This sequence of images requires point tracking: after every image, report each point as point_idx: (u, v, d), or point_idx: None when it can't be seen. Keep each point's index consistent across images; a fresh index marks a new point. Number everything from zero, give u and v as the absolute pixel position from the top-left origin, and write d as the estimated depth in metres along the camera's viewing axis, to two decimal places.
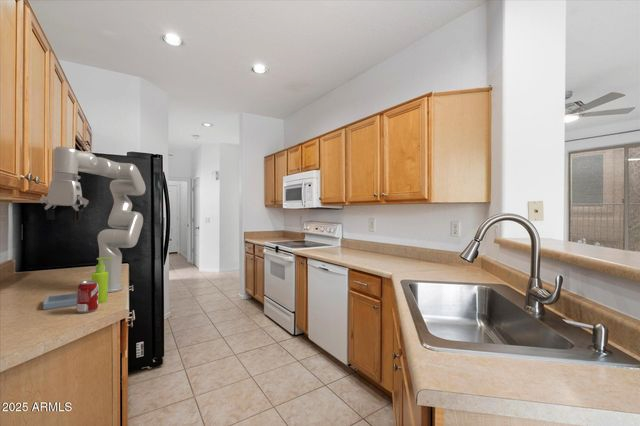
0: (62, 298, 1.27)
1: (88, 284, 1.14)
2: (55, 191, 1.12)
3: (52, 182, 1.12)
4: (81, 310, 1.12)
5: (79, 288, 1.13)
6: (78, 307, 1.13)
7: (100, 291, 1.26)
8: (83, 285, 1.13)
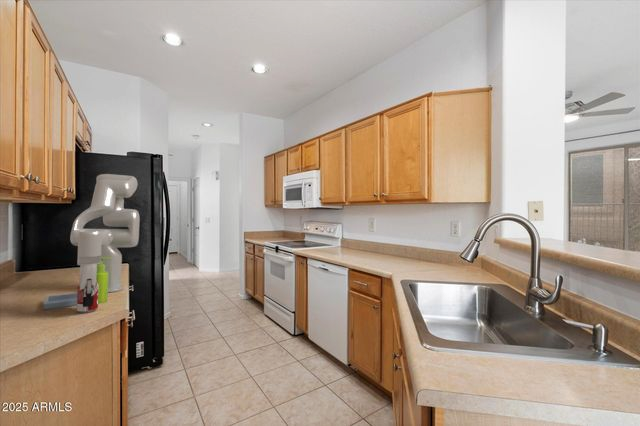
0: (62, 298, 1.27)
1: None
2: (96, 274, 1.16)
3: (96, 266, 1.15)
4: (81, 310, 1.12)
5: None
6: (78, 307, 1.13)
7: (100, 291, 1.26)
8: None
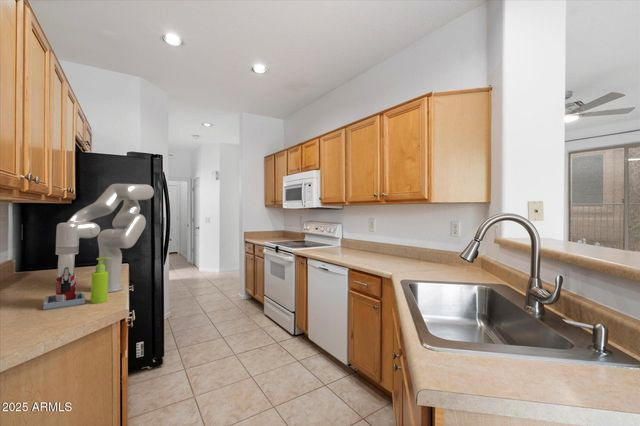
0: None
1: None
2: None
3: (73, 256, 1.23)
4: (59, 300, 1.22)
5: (57, 280, 1.21)
6: (56, 297, 1.22)
7: (100, 291, 1.26)
8: (61, 277, 1.22)
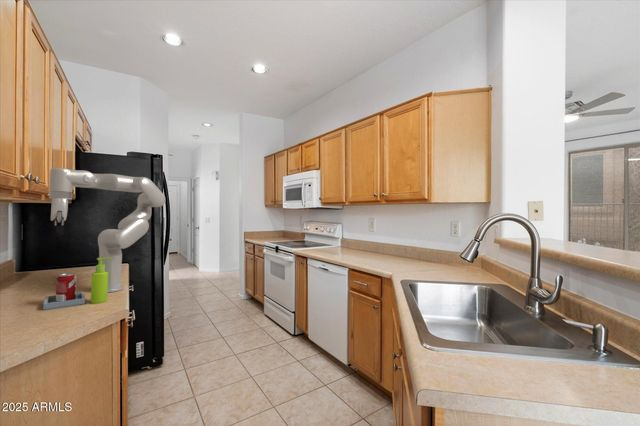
0: None
1: (66, 276, 1.23)
2: (67, 208, 1.26)
3: (67, 200, 1.25)
4: (59, 300, 1.22)
5: (57, 280, 1.22)
6: (56, 297, 1.22)
7: (100, 291, 1.26)
8: (61, 277, 1.22)
